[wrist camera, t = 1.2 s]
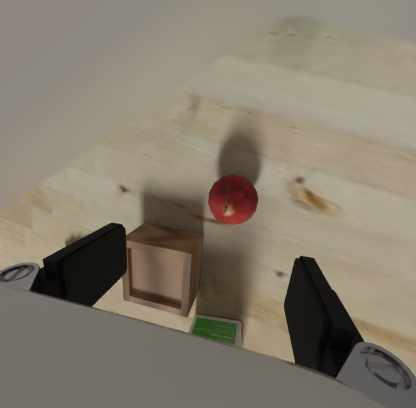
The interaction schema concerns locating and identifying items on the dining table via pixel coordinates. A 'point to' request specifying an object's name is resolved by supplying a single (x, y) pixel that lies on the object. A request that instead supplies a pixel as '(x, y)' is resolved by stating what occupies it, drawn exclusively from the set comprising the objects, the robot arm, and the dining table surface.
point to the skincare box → (217, 329)
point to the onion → (233, 199)
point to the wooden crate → (163, 268)
